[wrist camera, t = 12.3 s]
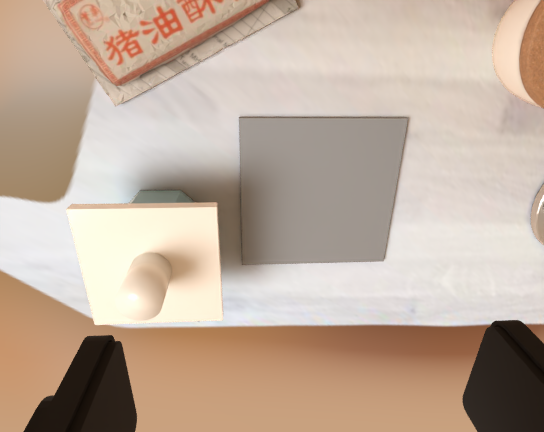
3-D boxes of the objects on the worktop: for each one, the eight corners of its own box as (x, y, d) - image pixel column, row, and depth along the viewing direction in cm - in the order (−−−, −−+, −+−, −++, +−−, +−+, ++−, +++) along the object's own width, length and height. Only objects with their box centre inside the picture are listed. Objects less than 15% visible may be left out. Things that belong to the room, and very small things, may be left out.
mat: (406, 117, 36) (408, 118, 35) (382, 259, 42) (383, 261, 42) (239, 117, 34) (239, 118, 34) (242, 262, 41) (242, 264, 41)
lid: (217, 202, 32) (212, 233, 27) (223, 313, 37) (220, 356, 32) (71, 204, 31) (38, 236, 26) (98, 317, 36) (75, 362, 31)
